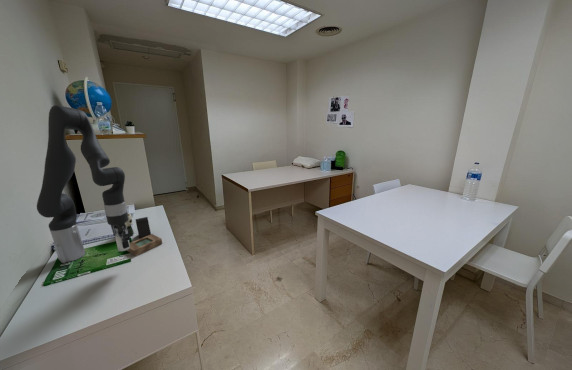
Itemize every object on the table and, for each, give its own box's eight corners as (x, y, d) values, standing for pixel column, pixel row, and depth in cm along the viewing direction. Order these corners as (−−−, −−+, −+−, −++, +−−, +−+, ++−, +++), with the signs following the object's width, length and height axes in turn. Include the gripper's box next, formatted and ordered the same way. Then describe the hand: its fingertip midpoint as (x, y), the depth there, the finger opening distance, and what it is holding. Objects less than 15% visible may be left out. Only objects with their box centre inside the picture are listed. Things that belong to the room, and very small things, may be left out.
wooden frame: (135, 256, 108) (134, 250, 108) (126, 250, 113) (124, 245, 112) (162, 243, 120) (161, 238, 119) (152, 238, 125) (152, 233, 124)
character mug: (135, 237, 126) (131, 217, 123) (120, 241, 122) (115, 220, 119) (134, 230, 135) (130, 211, 131) (120, 233, 130) (115, 214, 127)
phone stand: (138, 234, 129) (134, 217, 126) (150, 231, 133) (146, 214, 129) (139, 241, 122) (135, 222, 119) (151, 237, 126) (148, 219, 123)
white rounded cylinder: (120, 252, 95) (117, 235, 93) (116, 249, 97) (112, 232, 95) (132, 247, 99) (128, 231, 97) (127, 244, 101) (124, 228, 99)
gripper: (99, 211, 94) (107, 244, 98) (113, 219, 86) (121, 255, 91) (119, 206, 100) (125, 238, 104) (133, 213, 93) (140, 247, 97)
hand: (123, 245), depth 98 cm, fingers closed on white rounded cylinder, 4 cm apart
